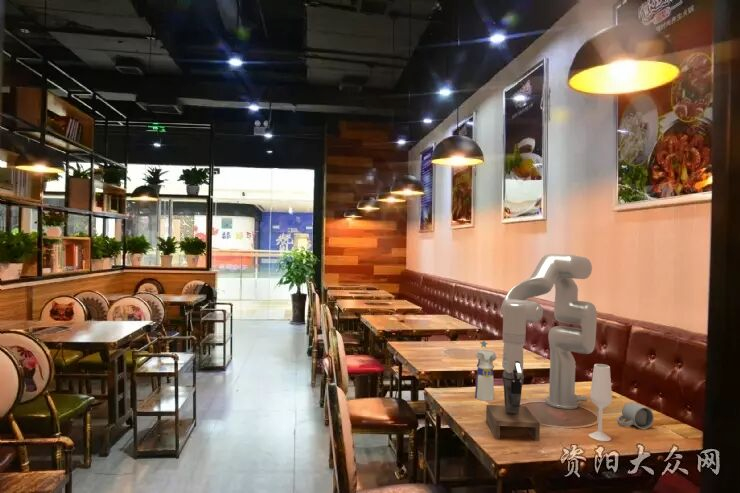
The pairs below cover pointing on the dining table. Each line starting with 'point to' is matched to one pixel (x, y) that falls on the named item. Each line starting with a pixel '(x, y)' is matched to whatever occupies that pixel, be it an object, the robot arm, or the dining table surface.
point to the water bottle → (485, 374)
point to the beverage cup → (511, 399)
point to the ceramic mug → (636, 416)
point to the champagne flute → (601, 396)
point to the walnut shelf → (511, 420)
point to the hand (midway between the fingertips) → (512, 389)
